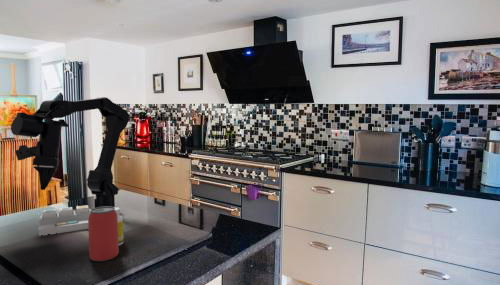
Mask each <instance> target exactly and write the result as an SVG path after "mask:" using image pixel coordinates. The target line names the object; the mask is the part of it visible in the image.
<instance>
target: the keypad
mask: <svg viewBox="0 0 500 285" xmlns="http://www.w3.org/2000/svg"><path fill="white" fill-rule="evenodd" d="M90 210H91V208H88V211H89V213H83V214H77V213H76V210H72V212H73V215H67V216H60V212H56V217H51V218H44V219H43V214H40V217H39V228H38V236H39V237H42V236H41V235H43V236H48V234H50V235H55V234H56V233H57V234H62V233H69V232H70V233H71V232H77V231H82V230H89V229H88V218H89V215H90Z"/></svg>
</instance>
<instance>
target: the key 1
mask: <svg viewBox="0 0 500 285" xmlns="http://www.w3.org/2000/svg"><path fill="white" fill-rule="evenodd" d="M56 213H57V209H56V208H53V209H45V210H43V211H42V215H43V219H44V218H51V217H56Z"/></svg>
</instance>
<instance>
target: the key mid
mask: <svg viewBox="0 0 500 285" xmlns="http://www.w3.org/2000/svg"><path fill="white" fill-rule="evenodd" d="M72 211H73V207H72V206H70V207H69V206H67V207H60V209H59V213H60V216H67V215H73V212H72Z"/></svg>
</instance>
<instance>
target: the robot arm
mask: <svg viewBox="0 0 500 285" xmlns="http://www.w3.org/2000/svg"><path fill="white" fill-rule="evenodd" d="M91 110H92V111H93V110H98V111H99V113H100V115H101V116H102V117H104V118H105V120H104V121H105V122H104V123H105V128H106V133H105V136H104V141H103V142H102V146H101V150H100V155H99V158H98V162H97V166H96V167H95V168H94V169H89V171H88V176H87V178H86V186H87V187H88V189H89V191H90V193H91V195H95V196H94V197H95V198H94V199H93V209H94V208H97V207H105V206H110V207H116V202H115V196H116V195H119V194H118V193H119V191H120V189H119V187H118V186H117V185H116V184H114V182H113V181H114V175H113V171H112V167H113V164H114V163H113V162H114V160H115V156H116V152H117V149H118V145H119V140H120V137H121V133H122V132H123V131H124V130H125V128H127V125H128V123H129V121H130V119H131V118H130V114H129V112H128V111H127V110H126V109H124V108H123V107H122V106H120V105H118V104H117V103H115V102H113V101H112V100H111V99H110V98H108V97H104V96H103V97H96V98H90V99H80V100H64V99H61V100H60V99H53V100H51V99H50V100H44V101H42V102H41V104H40V106H39V108H38V109H37V110H36V111H35V112H34V113H33V114H29V113H26V112H21V111H19V112H16V116H15V117H14V119H13V120H12V123H11V124H10V131H11V133H12V134H13V135H14V136H21V137H29V138H37V137H38V136H39V138H38V141H37V142H36V145H34V146H27V145H26V144H22V145H18V149H15V150H14V152H15V156H16V158H17V161H23V160H24V161H25V159H30V158H33V159H32V168H33V169H35V170H36V171H37V172H38V176H39V179H38V180H39V187H40V190H41V191H45V190H46V189H47V187H48V186H49V184H50V182H51V180H52V178H53V177H54V174H56V172H57V170H58V168H59V166H60V159H59V153H60V146H61V137H62V136H61V135H62V128H69V126H70V125H69V124H68V123H67V122H66V121H65V119H63V118H65V117H67V116H71V115H72V114H75V113H79V112H85V111H91ZM55 119H58V120H55ZM45 120H46V121H45Z"/></svg>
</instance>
